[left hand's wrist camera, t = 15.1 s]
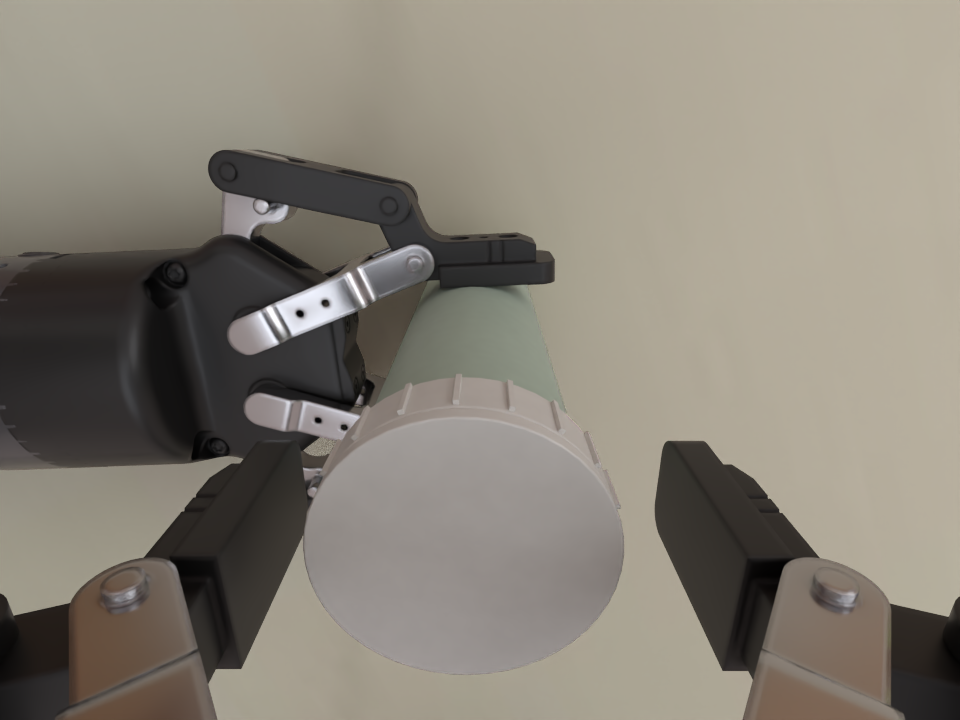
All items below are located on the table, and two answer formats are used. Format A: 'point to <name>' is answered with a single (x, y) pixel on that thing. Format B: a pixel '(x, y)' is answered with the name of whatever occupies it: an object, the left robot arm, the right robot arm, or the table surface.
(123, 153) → the table surface
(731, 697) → the table surface
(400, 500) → the lid
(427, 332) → the jar
